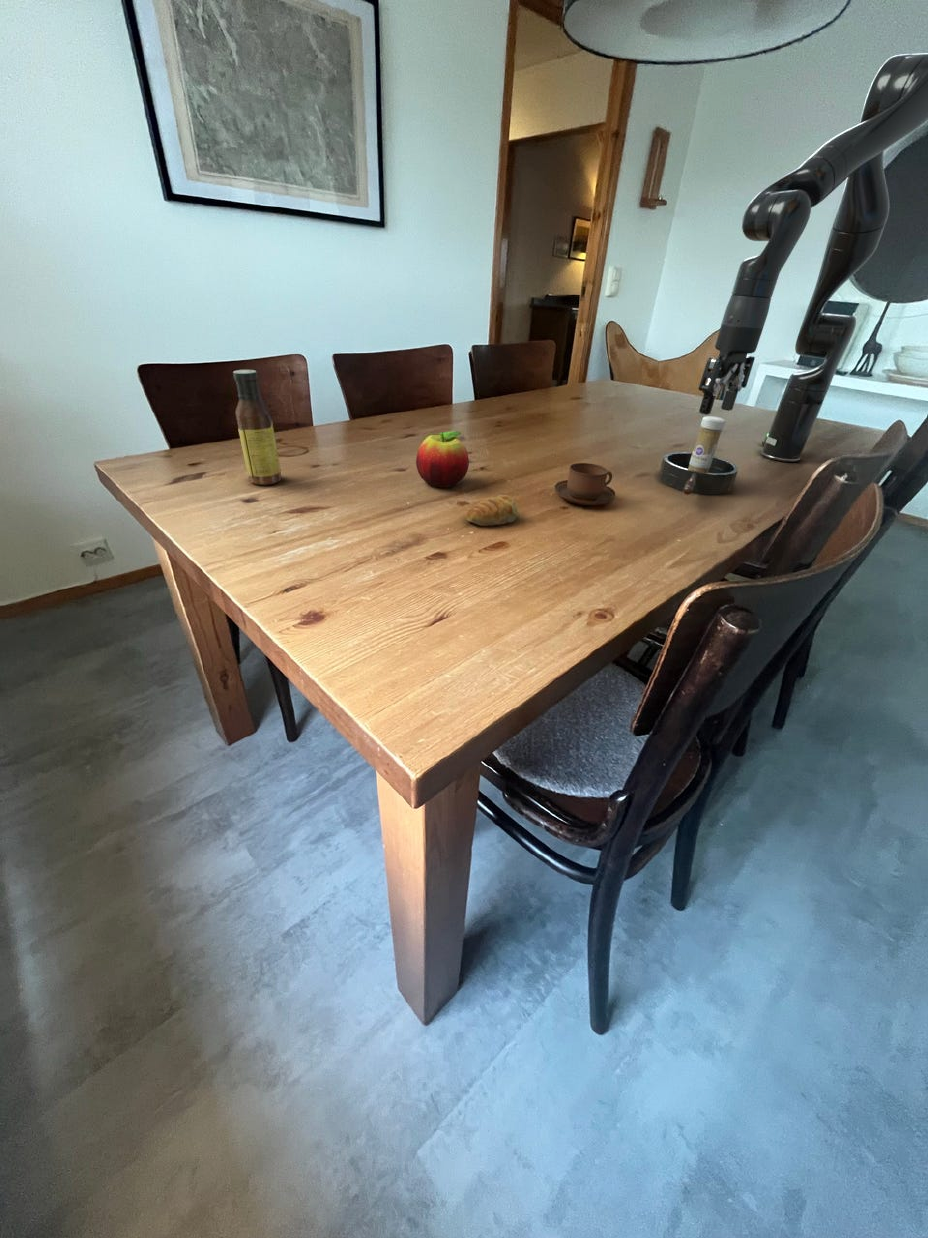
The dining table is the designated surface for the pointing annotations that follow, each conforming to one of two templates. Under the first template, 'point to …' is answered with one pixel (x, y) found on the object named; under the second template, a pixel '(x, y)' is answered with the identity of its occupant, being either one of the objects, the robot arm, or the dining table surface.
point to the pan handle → (690, 484)
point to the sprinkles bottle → (706, 443)
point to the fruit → (442, 460)
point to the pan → (708, 483)
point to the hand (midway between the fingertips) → (715, 411)
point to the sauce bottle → (256, 431)
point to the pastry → (493, 511)
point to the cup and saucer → (586, 485)
